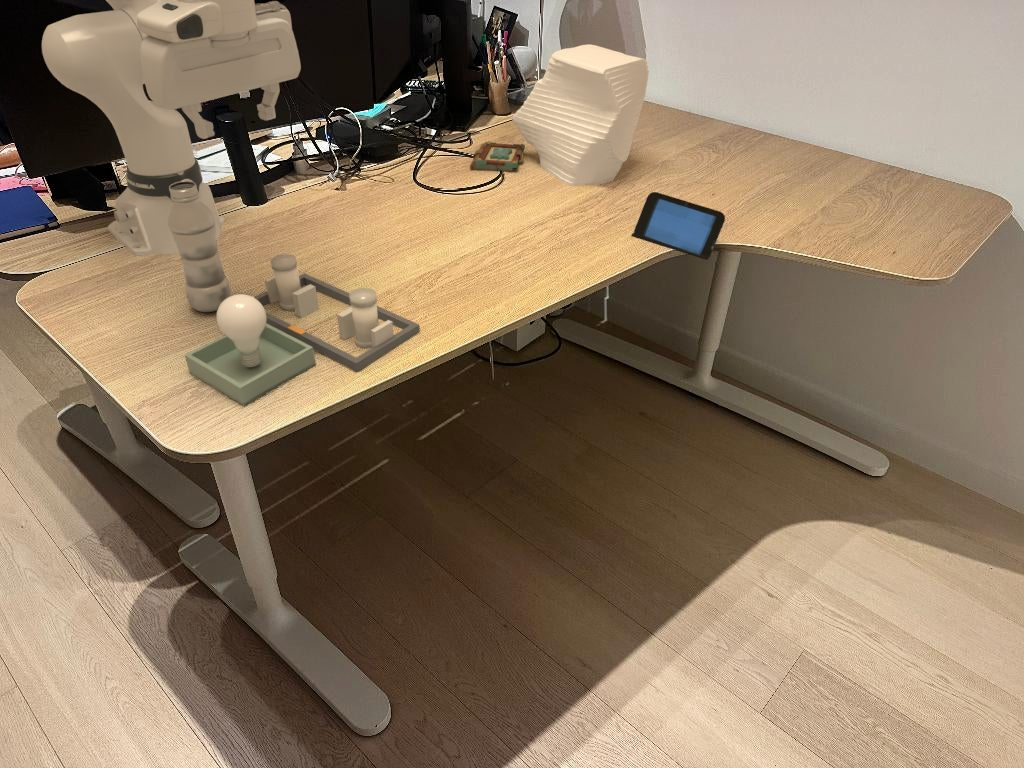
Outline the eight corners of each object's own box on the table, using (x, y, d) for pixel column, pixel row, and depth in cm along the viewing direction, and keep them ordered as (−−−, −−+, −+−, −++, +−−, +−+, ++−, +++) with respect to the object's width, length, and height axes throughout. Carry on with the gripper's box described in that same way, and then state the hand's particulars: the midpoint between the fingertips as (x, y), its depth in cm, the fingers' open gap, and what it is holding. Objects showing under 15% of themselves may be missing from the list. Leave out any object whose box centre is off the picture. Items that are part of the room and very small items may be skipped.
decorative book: (464, 185, 162) (463, 163, 159) (479, 157, 176) (479, 136, 173) (525, 190, 161) (525, 167, 158) (535, 161, 175) (536, 140, 172)
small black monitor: (606, 260, 135) (611, 212, 130) (643, 235, 144) (649, 189, 138) (683, 287, 127) (692, 237, 122) (718, 260, 136) (728, 212, 130)
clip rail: (241, 312, 118) (236, 289, 115) (305, 281, 126) (302, 259, 124) (357, 372, 105) (354, 348, 103) (419, 333, 114) (418, 310, 111)
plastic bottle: (181, 309, 118) (147, 187, 106) (216, 292, 123) (187, 173, 111) (208, 321, 115) (176, 198, 103) (243, 303, 120) (216, 183, 108)
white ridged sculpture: (578, 203, 155) (588, 73, 139) (508, 163, 173) (510, 43, 157) (655, 184, 164) (672, 60, 149) (581, 147, 182) (589, 33, 167)
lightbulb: (280, 352, 108) (266, 285, 101) (270, 378, 103) (255, 309, 96) (235, 352, 108) (219, 285, 101) (223, 378, 103) (205, 309, 96)
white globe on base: (275, 306, 119) (265, 261, 114) (292, 296, 122) (283, 252, 117) (292, 313, 118) (282, 267, 113) (310, 302, 120) (301, 257, 115)
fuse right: (349, 342, 111) (343, 295, 107) (368, 331, 114) (363, 285, 109) (367, 351, 110) (362, 304, 105) (386, 340, 112) (381, 293, 107)
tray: (189, 372, 104) (184, 355, 103) (261, 335, 112) (257, 318, 111) (244, 406, 99) (240, 388, 97) (315, 364, 107) (312, 347, 105)
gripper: (271, -6, 96) (286, 103, 105) (121, 18, 83) (152, 141, 92) (303, 2, 94) (316, 114, 102) (153, 29, 80) (182, 154, 89)
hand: (237, 127), depth 97 cm, fingers open, 8 cm apart
